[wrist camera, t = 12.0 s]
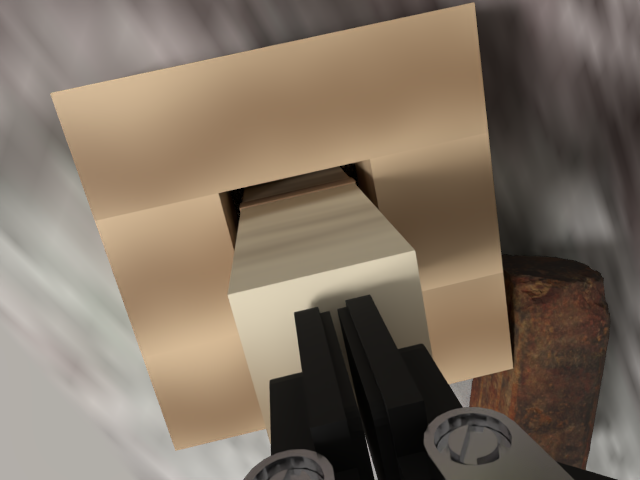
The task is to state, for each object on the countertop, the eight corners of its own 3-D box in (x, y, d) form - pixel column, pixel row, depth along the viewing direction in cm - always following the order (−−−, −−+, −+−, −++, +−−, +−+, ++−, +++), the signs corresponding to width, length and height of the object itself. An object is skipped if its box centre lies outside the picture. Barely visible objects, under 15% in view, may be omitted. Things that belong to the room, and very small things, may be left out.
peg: (243, 184, 22) (224, 293, 11) (337, 162, 22) (416, 247, 11) (266, 272, 24) (271, 454, 12) (355, 251, 24) (443, 410, 12)
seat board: (89, 90, 21) (50, 93, 17) (435, 16, 21) (474, 2, 17) (188, 393, 25) (175, 450, 21) (475, 325, 25) (513, 368, 22)
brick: (534, 440, 28) (586, 508, 24) (461, 445, 28) (500, 515, 23) (561, 249, 25) (627, 285, 21) (480, 251, 25) (530, 288, 20)
